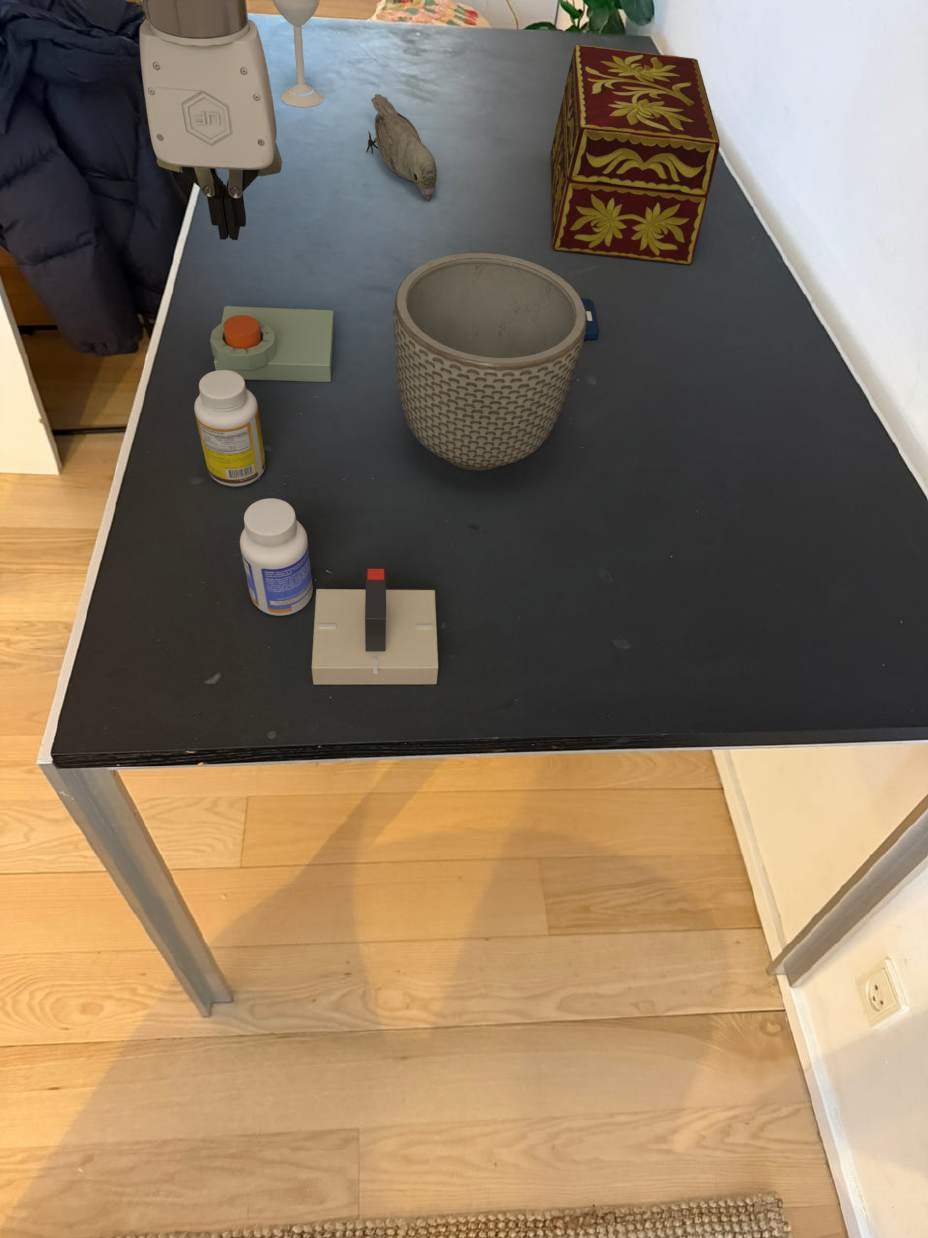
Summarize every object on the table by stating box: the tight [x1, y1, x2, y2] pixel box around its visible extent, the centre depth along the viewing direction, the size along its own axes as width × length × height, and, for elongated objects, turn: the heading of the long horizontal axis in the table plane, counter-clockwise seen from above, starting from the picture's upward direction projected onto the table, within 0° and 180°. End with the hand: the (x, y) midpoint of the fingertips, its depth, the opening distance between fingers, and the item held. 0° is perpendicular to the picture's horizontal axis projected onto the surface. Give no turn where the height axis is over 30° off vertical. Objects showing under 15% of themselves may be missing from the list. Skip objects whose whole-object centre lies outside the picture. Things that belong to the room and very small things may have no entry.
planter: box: [392, 252, 587, 472], centre depth 83 cm, size 17×17×16 cm
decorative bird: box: [365, 93, 438, 202], centre depth 119 cm, size 5×16×7 cm, turn 29°
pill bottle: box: [239, 497, 314, 617], centre depth 71 cm, size 5×5×10 cm
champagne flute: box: [272, 0, 324, 108], centre depth 124 cm, size 7×7×24 cm
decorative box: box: [550, 44, 721, 266], centre depth 115 cm, size 28×19×15 cm
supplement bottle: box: [193, 370, 266, 487], centre depth 80 cm, size 6×6×10 cm
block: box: [209, 305, 335, 383], centre depth 93 cm, size 12×11×4 cm
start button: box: [223, 315, 261, 349], centre depth 90 cm, size 4×4×2 cm
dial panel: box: [311, 588, 439, 686], centre depth 72 cm, size 10×9×3 cm
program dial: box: [364, 568, 387, 651], centre depth 69 cm, size 5×2×5 cm, turn 3°
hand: (230, 231), depth 81 cm, fingers closed
